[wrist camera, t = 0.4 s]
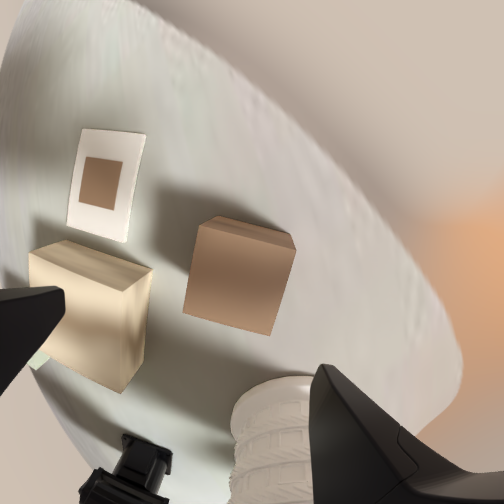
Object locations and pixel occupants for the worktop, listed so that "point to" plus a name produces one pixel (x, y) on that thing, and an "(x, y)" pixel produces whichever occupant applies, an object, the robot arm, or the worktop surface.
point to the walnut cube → (238, 274)
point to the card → (104, 182)
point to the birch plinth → (95, 311)
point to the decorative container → (272, 444)
